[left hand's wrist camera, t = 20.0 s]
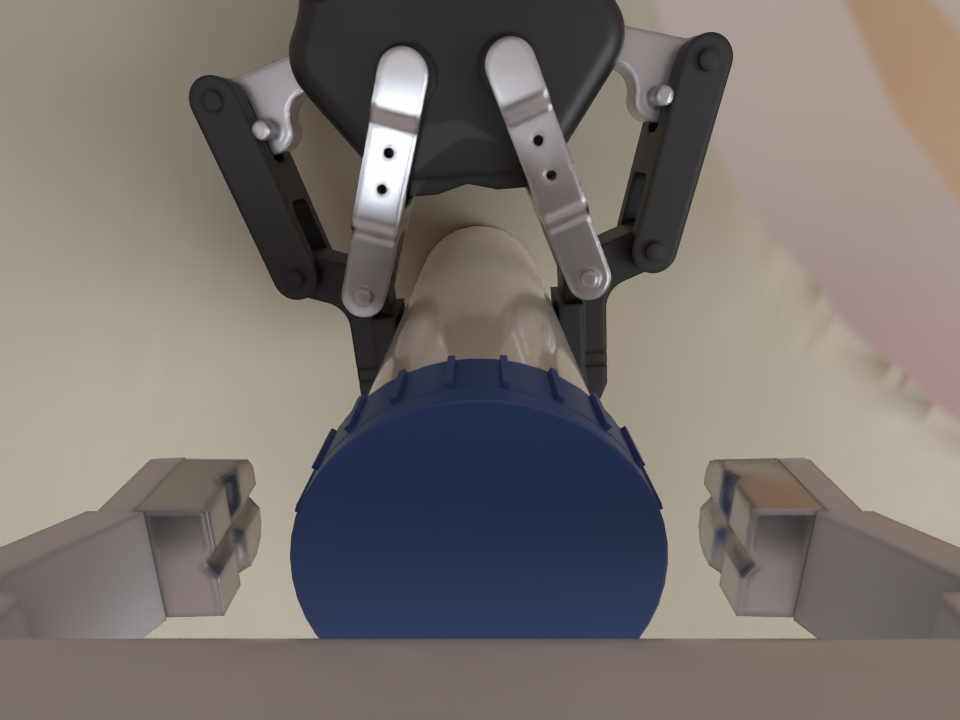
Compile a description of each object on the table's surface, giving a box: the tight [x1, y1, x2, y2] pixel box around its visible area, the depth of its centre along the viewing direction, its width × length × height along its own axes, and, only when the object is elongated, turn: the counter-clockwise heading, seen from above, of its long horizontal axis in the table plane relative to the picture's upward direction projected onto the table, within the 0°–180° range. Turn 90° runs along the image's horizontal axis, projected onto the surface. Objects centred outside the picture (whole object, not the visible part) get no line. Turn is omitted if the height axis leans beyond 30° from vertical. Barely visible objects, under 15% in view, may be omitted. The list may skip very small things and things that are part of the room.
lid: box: [290, 355, 668, 639], centre depth 9 cm, size 5×5×2 cm
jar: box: [368, 226, 590, 396], centre depth 17 cm, size 5×5×17 cm
